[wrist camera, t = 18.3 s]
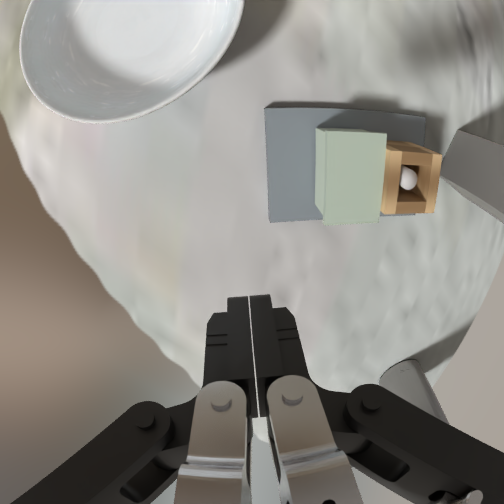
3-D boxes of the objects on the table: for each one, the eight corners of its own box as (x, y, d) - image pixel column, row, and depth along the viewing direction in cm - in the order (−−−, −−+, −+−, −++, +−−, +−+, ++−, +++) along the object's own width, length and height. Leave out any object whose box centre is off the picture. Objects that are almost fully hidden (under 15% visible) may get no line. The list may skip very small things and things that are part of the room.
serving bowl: (172, -80, 14) (161, -109, 8) (283, 39, 23) (298, 25, 17) (27, 36, 19) (-8, 32, 13) (117, 156, 28) (91, 174, 22)
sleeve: (405, 192, 31) (433, 212, 26) (360, 192, 31) (384, 214, 25) (410, 142, 28) (442, 154, 23) (363, 138, 28) (390, 150, 22)
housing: (360, 204, 31) (378, 222, 27) (311, 206, 31) (324, 225, 27) (365, 126, 27) (386, 133, 23) (312, 124, 27) (327, 131, 22)
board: (410, 211, 33) (436, 233, 28) (268, 218, 33) (276, 245, 28) (419, 116, 27) (452, 124, 22) (264, 108, 27) (272, 111, 22)
